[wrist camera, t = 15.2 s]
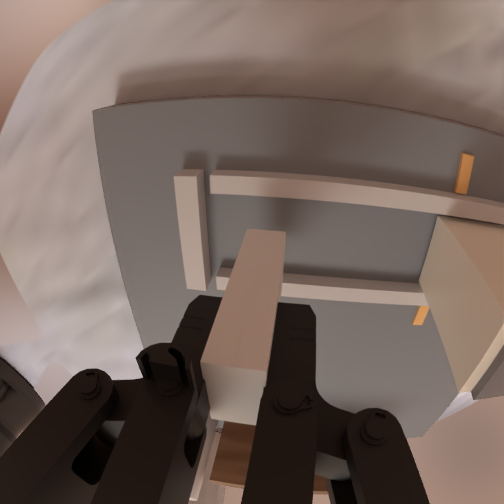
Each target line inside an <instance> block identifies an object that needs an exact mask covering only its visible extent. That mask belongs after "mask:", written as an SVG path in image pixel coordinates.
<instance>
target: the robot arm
mask: <svg viewBox="0 0 504 504" xmlns="http://www.w3.org/2000/svg"><path fill="white" fill-rule="evenodd" d="M285 240H286V232H283V231H271V230H258V229H247V231H246V234H245V236H244V239H243V242H242V245H241V248H240V250H239V253H238V256H237V259H236V262H235V264H234V267H233V270H232V273H231V276H230V278H229V281H228V284H227V287H226V290H225V292H224V295H223V297H215V296H207V295H199V296H197V297H196V298H195V299H194V300H193V301H192V302H191V303H189V305H188V307H187V309H186V311H185V313H184V315H183V318H182V320H181V322H180V324H179V328H177V331H176V333H175V335H174V337H173V339H172V342H171V343H157V344H153V345H150V346H148V347H147V348H145V349H143V350H142V351H141V352H140V353H139V355H138V356H137V357H136V360H137V363H138V365H139V368H140V370H141V373H142V375H143V378H140V379H134V380H112V379H111V378H110V376H109V375H108V374H107V373H106V372H105V371H102V370H99V369H86V370H83V371H80V372H79V373H77V374H76V375H75V376H73V377H72V378H71V379H70V380H69V382H68V383H67V384H66V385H65V386H64V387H63V388H62V389H61V390H60V391H59V392H58V393H57V394H56V395H55V397H54V398H53V399H52V400H51V401H50V402H49V403H48V404H47V405H46V406H45V404H44V402H43V400H42V399H41V397H40V396H39V395H38V394H37V392H36V391H35V390H34V389H33V388H32V387H31V386H30V385H29V384H28V383H27V382H26V381H25V380H24V379H23V378H22V377H21V376H20V375H19V374H18V373H17V372H16V371H15V370H14V369H13V368H11V367H10V366H9V365H8V364H7V363H5V362H4V361H3V360H2V359H0V504H188V502H189V499H190V495H191V492H192V488H193V484H194V481H195V477H196V473H197V470H198V466H199V462H200V459H201V455H202V451H203V448H204V444H205V440H206V436H207V428H206V422H207V418H208V415H209V411H210V416H211V419H216V420H222V421H229V422H235V423H242V424H249V425H256V428H255V433H254V439H253V444H252V450H251V455H250V460H249V466H248V471H247V476H246V481H245V486H244V491H243V497H242V502H241V504H312V500H313V489H314V476H315V474H316V475H319V476H322V477H325V481H326V485H327V489H328V494H329V498H330V503H331V504H430V503H429V500H428V498H427V494H426V491H425V489H424V486H423V483H422V480H421V477H420V475H419V471H418V469H417V466H416V463H415V461H414V458H413V455H412V452H411V450H410V447H409V445H408V442H407V439H406V437H405V434H404V432H403V429H402V427H401V424H400V423H399V421H398V420H397V418H396V417H395V416H394V415H393V414H391V413H390V412H389V411H387V410H383V409H380V408H366V409H364V410H361V411H359V412H357V413H356V414H355V413H351V412H348V411H345V410H342V409H339V408H337V407H335V406H332V405H330V404H329V403H328V402H326V401H325V400H324V399H323V398H322V397H321V395H320V394H319V392H318V390H317V387H316V315H315V313H314V312H313V310H312V308H311V306H310V305H307V304H295V303H284V302H280V300H281V292H282V281H283V268H284V254H285ZM22 431H23V432H22ZM21 432H22V433H21ZM20 433H21V434H20ZM19 434H20V435H19ZM18 435H19V436H18ZM17 437H18V438H17ZM16 438H17V439H16Z"/></svg>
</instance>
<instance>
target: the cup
mask: <svg viewBox="0 0 504 504" xmlns="http://www.w3.org/2000/svg"><path fill="white" fill-rule="evenodd" d="M220 436H221V433H219V432H216V433H215V437H214V440H213V444H212V448H211V452H210V455H209V459H208V463H207V466H206V470H205V474H204V478H203V481H202V485H201V489H200V492H199V496H198V500H197V501H193V500H189V502H188V504H223V501H224V494H225V486H224V485H218V484H213V483H211V482H210V480H209V479H210V475H211V471H212V468H213V464H214V460H215V456H216V452H217V448H218V444H219V440H220Z"/></svg>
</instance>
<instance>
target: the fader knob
mask: <svg viewBox="0 0 504 504" xmlns="http://www.w3.org/2000/svg"><path fill="white" fill-rule="evenodd" d="M419 283H420V286H421V288H422V290H423V293H424V295H425V298H426V300H427V303H428V305H429V308H430V310H431V313H432V315H433V318H434V320H435V323H436V326H437V329H438V331H439V334H440V337H441V340H442V342H443V345H444V348H445V351H446V354H447V357H448V360H449V363H450V367H451V370H452V373H453V376H454V380H455V383H456V386H457V390H458V393H460V392H470V391H471V393H472V396H473V400H477V399H485V398H490V397H497V396H503V395H504V227H503V226H502V225H497V224H491V223H485V222H479V221H473V220H467V219H460V218H453V217H447V216H440V215H438V216H437V220H436V224H435V228H434V231H433V235H432V239H431V242H430V246H429V249H428V252H427V256H426V259H425V262H424V265H423V269H422V272H421V275H420V278H419Z"/></svg>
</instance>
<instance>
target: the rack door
mask: <svg viewBox="0 0 504 504" xmlns="http://www.w3.org/2000/svg"><path fill="white" fill-rule="evenodd" d="M255 428H256V425H249V424H242V423H235V422H229V421H224V424H223V428H222V432H221V436H220V440H219V444H218V448H217V452H216V456H215V460H214V464H213V468H212V471H211V475H210V479H209V480H210V482H211V483H213V484H218V485H224V486H230V487H236V488H243V489H244V486H245V481H246V476H247V471H248V466H249V460H250V455H251V450H252V444H253V439H254V433H255ZM313 494H328V489H327V485H326V481H325V477H322V476H319V475H316V474H315V476H314V489H313Z"/></svg>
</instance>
